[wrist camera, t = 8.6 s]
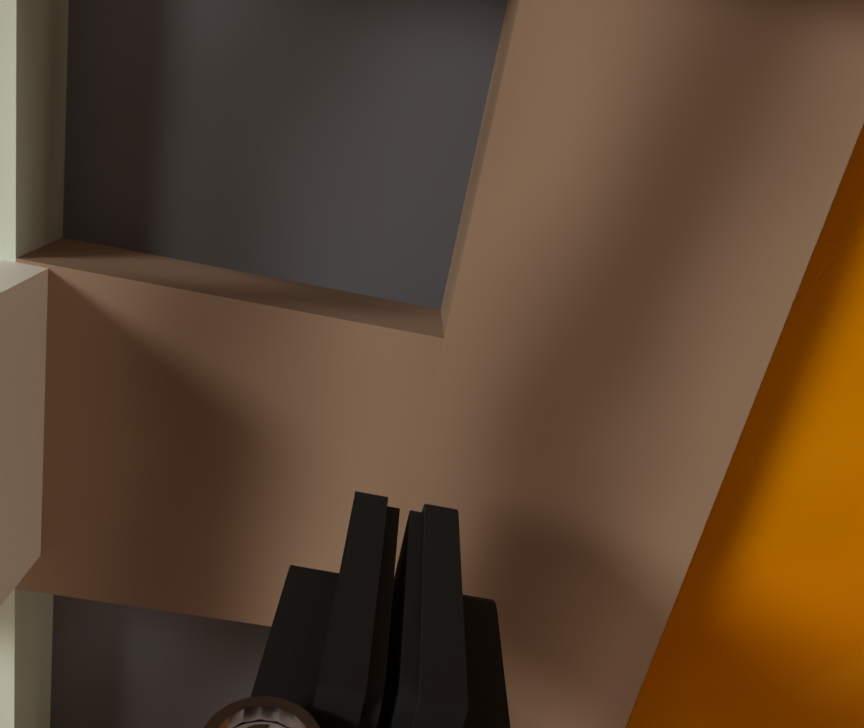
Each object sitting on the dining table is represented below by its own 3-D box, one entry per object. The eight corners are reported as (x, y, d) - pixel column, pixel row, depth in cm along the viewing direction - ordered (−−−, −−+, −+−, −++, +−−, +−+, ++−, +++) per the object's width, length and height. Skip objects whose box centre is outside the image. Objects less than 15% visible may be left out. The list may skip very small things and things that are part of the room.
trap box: (879, -92, 13) (1072, -163, 9) (534, 854, 21) (560, 1020, 17) (-368, -412, 11) (-777, -669, 7) (-204, 764, 19) (-353, 928, 16)
